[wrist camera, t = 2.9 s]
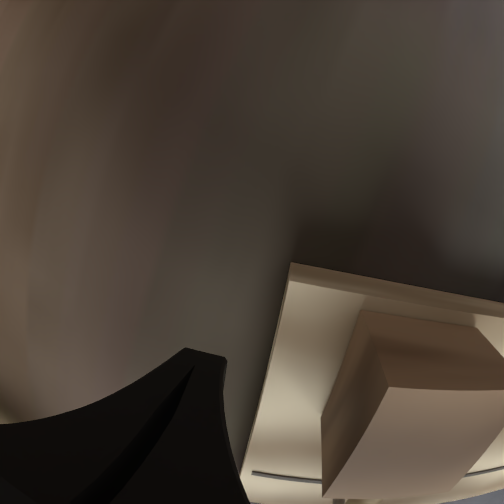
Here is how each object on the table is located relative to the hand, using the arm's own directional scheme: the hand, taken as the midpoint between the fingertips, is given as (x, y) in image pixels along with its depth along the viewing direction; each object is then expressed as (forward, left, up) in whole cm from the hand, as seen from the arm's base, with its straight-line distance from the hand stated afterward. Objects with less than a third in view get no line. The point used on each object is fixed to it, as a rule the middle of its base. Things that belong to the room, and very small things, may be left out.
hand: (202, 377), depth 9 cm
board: (-4, -18, -4) cm, 19 cm away
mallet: (-3, -7, -2) cm, 8 cm away
